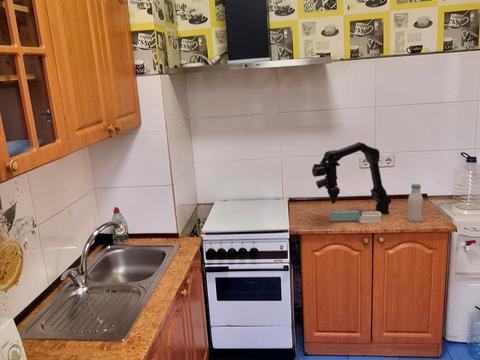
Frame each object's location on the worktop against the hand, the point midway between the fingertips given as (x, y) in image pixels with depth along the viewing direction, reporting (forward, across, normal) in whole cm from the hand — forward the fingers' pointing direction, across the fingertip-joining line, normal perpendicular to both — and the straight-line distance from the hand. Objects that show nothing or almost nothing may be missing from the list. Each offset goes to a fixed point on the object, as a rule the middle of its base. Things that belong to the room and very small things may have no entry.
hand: (332, 201), depth 236 cm
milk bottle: (+12, +3, +44) cm, 46 cm away
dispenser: (+12, +2, +20) cm, 24 cm away
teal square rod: (+11, +2, +6) cm, 12 cm away
